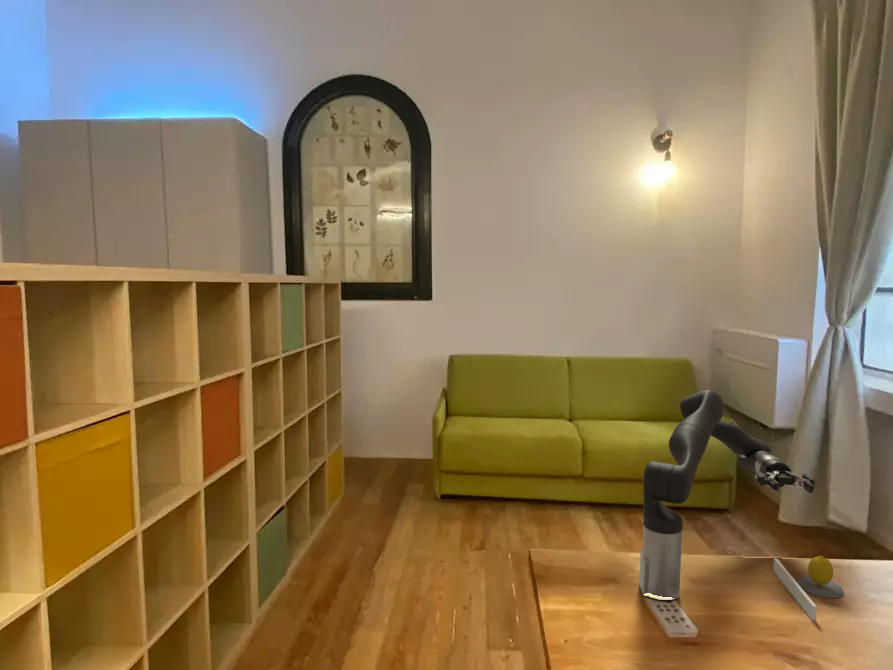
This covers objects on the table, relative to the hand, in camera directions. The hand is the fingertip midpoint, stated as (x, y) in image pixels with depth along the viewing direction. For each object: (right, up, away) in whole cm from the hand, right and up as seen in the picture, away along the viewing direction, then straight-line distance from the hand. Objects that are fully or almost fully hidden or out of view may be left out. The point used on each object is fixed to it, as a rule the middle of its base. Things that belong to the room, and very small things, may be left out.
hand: (794, 488), depth 168 cm
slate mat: (+1, -23, -9) cm, 25 cm away
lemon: (+1, -23, -9) cm, 25 cm away
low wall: (-7, -24, -12) cm, 27 cm away
